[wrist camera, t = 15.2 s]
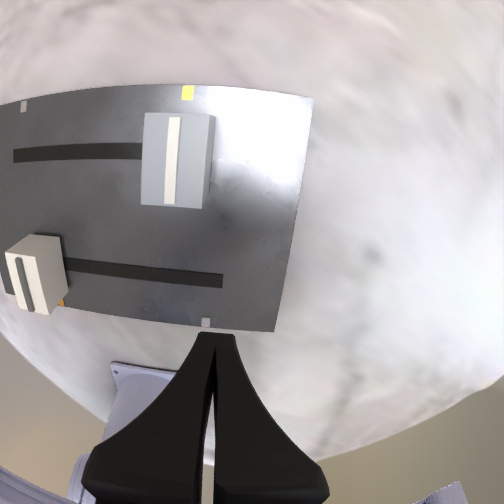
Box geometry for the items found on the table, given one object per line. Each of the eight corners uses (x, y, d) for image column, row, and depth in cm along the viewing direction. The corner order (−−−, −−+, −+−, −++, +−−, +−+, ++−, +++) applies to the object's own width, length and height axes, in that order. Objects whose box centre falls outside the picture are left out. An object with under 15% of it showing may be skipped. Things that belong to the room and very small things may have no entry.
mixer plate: (272, 322, 22) (274, 333, 21) (12, 286, 20) (5, 293, 19) (309, 100, 16) (314, 98, 15) (-7, 109, 14) (-17, 110, 13)
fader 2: (208, 193, 17) (200, 210, 13) (158, 189, 16) (139, 205, 13) (215, 116, 15) (209, 114, 12) (162, 114, 15) (143, 112, 11)
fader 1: (68, 291, 19) (47, 317, 16) (39, 285, 19) (17, 310, 16) (59, 237, 17) (32, 259, 14) (29, 234, 17) (2, 254, 14)
